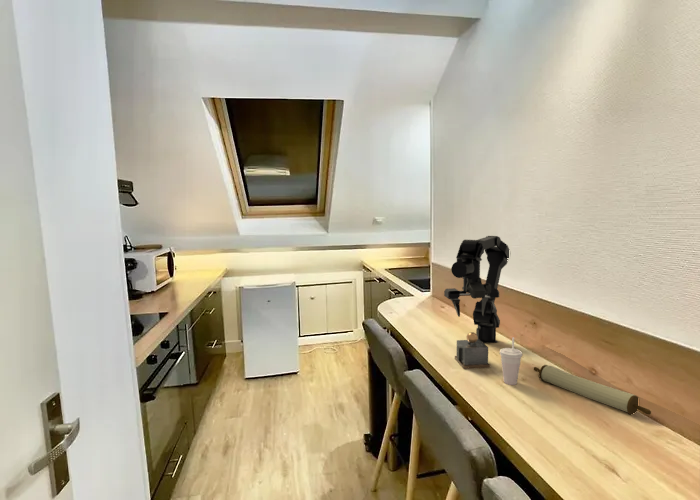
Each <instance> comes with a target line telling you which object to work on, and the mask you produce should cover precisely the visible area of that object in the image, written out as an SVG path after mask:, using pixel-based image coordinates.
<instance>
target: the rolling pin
mask: <svg viewBox="0 0 700 500" xmlns="http://www.w3.org/2000/svg"><path fill="white" fill-rule="evenodd" d="M532 369H533V371H534V372H537V373H538V378H539V380H540V381H543V382H547V383H549V384H552V385H555V386H557V387H560V388H562V389H565V390H568V391H570V392H572V393H575V394H577V395H580V396H583V397H586V398H588V399H591V400H592V401H593V400H594V401H596V402H599V403H602V404H605V405H607V406H610V407H612V408H615V409H618V410H620V411H623V412H626V413H628V415H631V414H632V415H634V414H633V413H635V412H636V411H637V412H638V411H640V412H642V413H644V414H645V415H649V416H651V414H652V411H651V410H650V409H649V408H646V407H643V406H640V405H639V406H638V398H639V396H638V395H635V394H633V393H629V392H626V391H623V390H620V389H616V388H614V387H610V386H607V385H604V384H602V383H598V382H595V381H593V380H589V379H587V378H584V377H581V376H577V375H574V374H572V373H569V372H566V371H564V370H562V369H559V368H557V367H555V366H554V365H553V366H552V365H547V364H544V365H542V366H541V368H539V367H536V366H534V367H533V368H532ZM637 409H638V410H637ZM637 412H636V413H637ZM636 413H635V414H636Z"/></svg>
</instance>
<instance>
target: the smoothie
mask: <svg viewBox="0 0 700 500" xmlns="http://www.w3.org/2000/svg"><path fill="white" fill-rule="evenodd" d="M511 338H512V339H511V347H504V348H500V350H499V355H500V358H501V359H500V361H501V368H502V369H501V370H502V378H503V379H502V380H503V383H504V384H506V385H510V386H515V385H517V384H518V379H519V378H518V377H519V372H520V366H521V360H522V357H523V352H522V351H521V350H520V349H518V348H515V336H514V337H511Z"/></svg>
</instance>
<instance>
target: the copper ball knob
mask: <svg viewBox="0 0 700 500" xmlns="http://www.w3.org/2000/svg"><path fill="white" fill-rule="evenodd" d="M477 339H478V337H477V335H476V332H471V331H470V332H468V333H467V335H466V340H468V341H469V342H470V345H474V343H475V342H476V341H477Z"/></svg>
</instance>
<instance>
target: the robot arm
mask: <svg viewBox="0 0 700 500" xmlns="http://www.w3.org/2000/svg"><path fill="white" fill-rule="evenodd" d="M509 250H510V247H509V245H508V244H507V243H505V242H504V241H503V240H501V237H500V236H498V235H486V236H485V237H482V238H479V239H463V240H462V241H461V243H460V245H459V248H458V252H457V254H456V261H455V262H454V263H453V264H452V266H451V273H452V275H453V277H455V278H457V279H463V283H462V284H463V286H462V287H461V288H462V290H459V289H457V288H452V287H451V288H445V289H444V293H443V295H444V297H446V298H447V299H448V300H450V301H451V302H452V304H453V307H454V310H455V312H456V315H457V317H458V318H459V317H461V308H460V307H461V306H460V302H461V299H460V297H465V296H466V297H467V296H469V297H471V298H472V299H476V300H477V299H481V300H479V301H476V302H475V306H474V310H473V311H472V318H473V324H474V326H475V325H476V326H477V327H476V329H475V330H476V331H475V334H476V335H477V337H478V339H479V340H480V341H482V342H483V343H484V344H495V343H498V342H499V341H498V340H497V338H496V336H497V329H499V328H500V325H501V319H500V318H499V315H498V314H497V312H498V309H497V307H496V305H495V300H496V299H497V298H500V291H499V290H498V287H499V284H500V283H499V282H500V278H501V272H502V269H503V268H504V267H505V266H507V264H508V262H509V259H510V258H509ZM484 253H485V254H486V260H487V263H488V265H489V266H488V271H487V275H486V279H485V283H482V278H481V261H482V260H483V259H482V256H483V254H484ZM507 258H509V259H507ZM507 260H508V261H507ZM478 339H477V340H478Z"/></svg>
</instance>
